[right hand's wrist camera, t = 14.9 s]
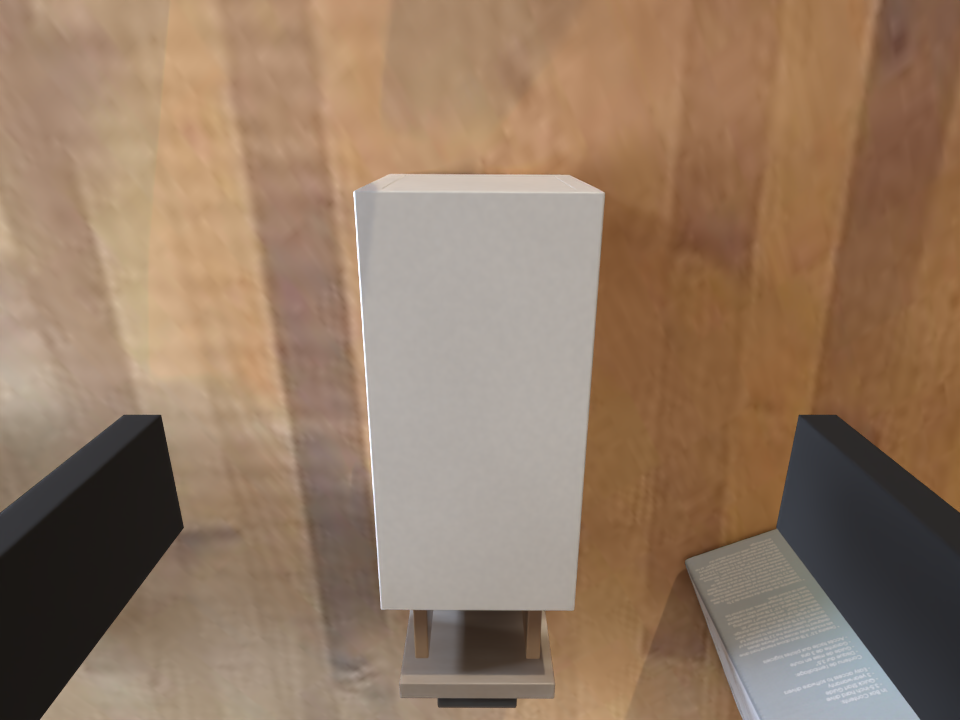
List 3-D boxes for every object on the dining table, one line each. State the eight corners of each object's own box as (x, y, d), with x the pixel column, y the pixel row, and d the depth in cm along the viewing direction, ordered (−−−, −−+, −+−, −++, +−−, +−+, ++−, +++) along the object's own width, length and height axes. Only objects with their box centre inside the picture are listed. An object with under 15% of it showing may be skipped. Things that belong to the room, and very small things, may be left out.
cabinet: (552, 499, 43) (574, 611, 33) (403, 498, 43) (380, 610, 33) (569, 174, 35) (605, 191, 25) (389, 173, 35) (353, 190, 25)
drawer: (537, 656, 46) (550, 766, 38) (416, 655, 46) (403, 766, 38) (554, 327, 37) (574, 382, 29) (403, 327, 37) (382, 381, 29)
